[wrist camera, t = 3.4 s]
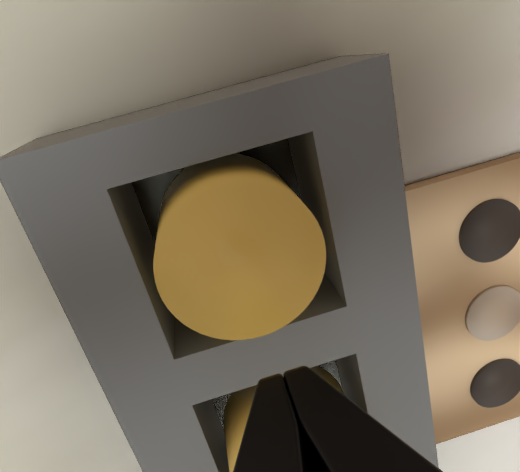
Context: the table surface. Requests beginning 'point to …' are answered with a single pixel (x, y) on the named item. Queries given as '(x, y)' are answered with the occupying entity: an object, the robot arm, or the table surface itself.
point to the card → (469, 293)
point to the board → (142, 251)
